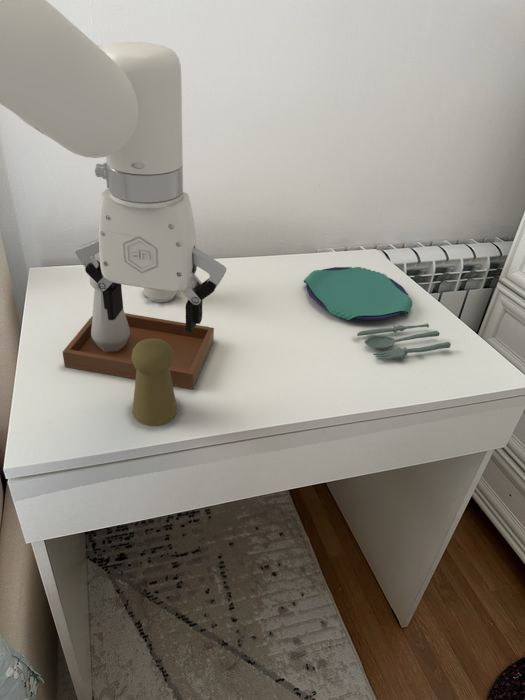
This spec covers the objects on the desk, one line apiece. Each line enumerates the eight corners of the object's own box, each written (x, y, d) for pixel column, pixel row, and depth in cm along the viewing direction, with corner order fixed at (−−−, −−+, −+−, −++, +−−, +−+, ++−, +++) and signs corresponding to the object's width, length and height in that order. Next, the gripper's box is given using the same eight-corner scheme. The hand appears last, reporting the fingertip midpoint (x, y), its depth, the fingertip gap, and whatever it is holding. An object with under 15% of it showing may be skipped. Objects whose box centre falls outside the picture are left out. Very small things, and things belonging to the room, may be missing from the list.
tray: (64, 366, 79) (62, 351, 78) (99, 322, 89) (98, 308, 88) (192, 389, 78) (193, 374, 76) (213, 341, 88) (214, 327, 86)
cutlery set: (375, 271, 114) (377, 261, 113) (460, 352, 92) (464, 341, 90) (289, 279, 108) (290, 268, 107) (357, 367, 85) (360, 356, 84)
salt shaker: (125, 331, 87) (120, 258, 79) (135, 351, 83) (130, 276, 75) (88, 338, 84) (79, 263, 77) (96, 358, 80) (87, 282, 73)
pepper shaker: (130, 398, 75) (126, 333, 68) (174, 394, 76) (173, 330, 70) (133, 428, 70) (128, 361, 64) (179, 423, 72) (179, 357, 65)
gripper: (48, 182, 53) (72, 326, 63) (219, 205, 51) (215, 349, 61) (82, 160, 59) (98, 295, 69) (235, 180, 57) (229, 315, 67)
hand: (153, 320), depth 65 cm, fingers open, 9 cm apart
